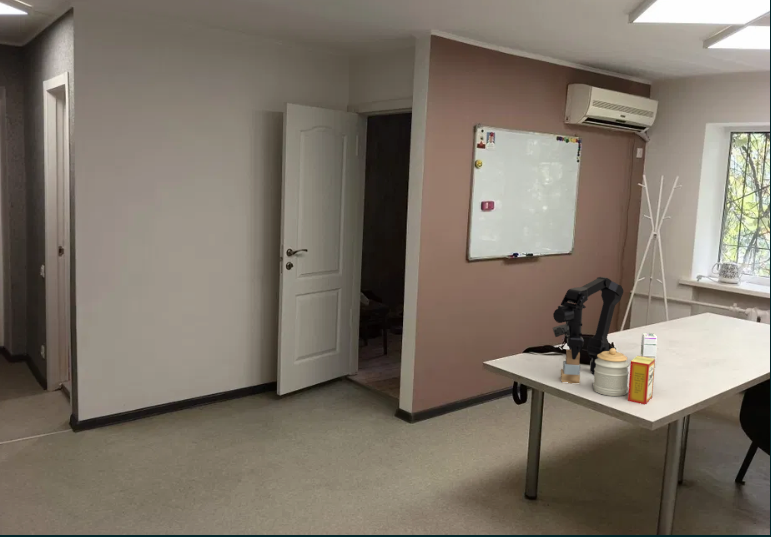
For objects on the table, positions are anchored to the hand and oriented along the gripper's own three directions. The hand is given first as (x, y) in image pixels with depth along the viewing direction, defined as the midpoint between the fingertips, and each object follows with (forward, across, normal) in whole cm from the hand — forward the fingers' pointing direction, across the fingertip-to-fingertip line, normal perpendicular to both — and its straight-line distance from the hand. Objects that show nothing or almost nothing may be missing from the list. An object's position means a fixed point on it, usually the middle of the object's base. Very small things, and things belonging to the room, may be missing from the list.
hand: (572, 356), depth 263 cm
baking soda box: (+11, +17, +24) cm, 31 cm away
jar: (+11, +10, +14) cm, 20 cm away
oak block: (+11, 0, 0) cm, 11 cm away
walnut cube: (+3, 0, 0) cm, 3 cm away
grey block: (+7, 0, 0) cm, 7 cm away
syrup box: (+11, -29, +36) cm, 47 cm away
